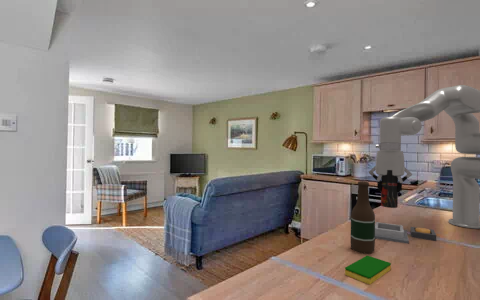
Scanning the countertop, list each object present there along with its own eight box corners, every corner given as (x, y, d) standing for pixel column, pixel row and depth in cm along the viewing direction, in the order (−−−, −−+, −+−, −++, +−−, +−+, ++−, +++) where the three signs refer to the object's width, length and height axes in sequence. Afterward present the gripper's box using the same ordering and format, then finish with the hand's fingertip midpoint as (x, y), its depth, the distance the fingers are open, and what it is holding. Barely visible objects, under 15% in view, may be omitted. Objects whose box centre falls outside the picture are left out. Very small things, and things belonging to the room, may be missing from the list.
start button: (414, 231, 111) (415, 226, 111) (429, 233, 109) (429, 228, 109) (415, 235, 107) (416, 230, 107) (431, 237, 104) (431, 232, 104)
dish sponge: (344, 275, 75) (344, 267, 75) (367, 262, 84) (367, 254, 84) (369, 286, 70) (369, 277, 70) (391, 270, 79) (391, 262, 79)
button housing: (410, 231, 113) (410, 226, 113) (433, 234, 109) (433, 229, 109) (411, 237, 106) (411, 231, 106) (436, 240, 102) (436, 235, 102)
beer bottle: (372, 247, 96) (373, 180, 95) (376, 255, 88) (377, 183, 88) (349, 244, 98) (350, 179, 98) (351, 252, 91) (352, 182, 90)
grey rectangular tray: (372, 228, 118) (372, 220, 118) (406, 233, 111) (406, 224, 111) (369, 237, 106) (370, 228, 106) (408, 243, 99) (408, 234, 99)
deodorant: (399, 208, 105) (400, 170, 104) (383, 207, 106) (384, 169, 106) (394, 204, 111) (394, 169, 110) (378, 204, 112) (379, 168, 111)
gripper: (365, 147, 109) (365, 191, 109) (416, 147, 100) (415, 195, 101) (367, 147, 115) (366, 188, 116) (414, 147, 107) (413, 192, 107)
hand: (389, 191), depth 108 cm, fingers closed on deodorant, 5 cm apart
